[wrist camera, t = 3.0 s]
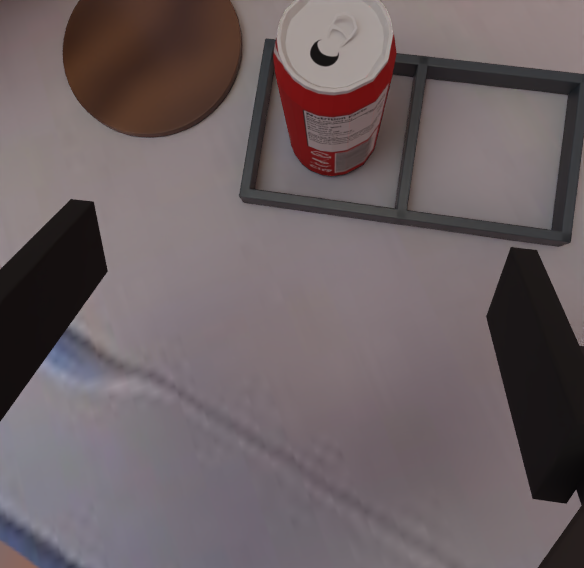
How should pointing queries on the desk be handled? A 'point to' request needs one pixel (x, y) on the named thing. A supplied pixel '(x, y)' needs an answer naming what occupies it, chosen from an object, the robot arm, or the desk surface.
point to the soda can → (334, 79)
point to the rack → (578, 125)
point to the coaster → (151, 61)
